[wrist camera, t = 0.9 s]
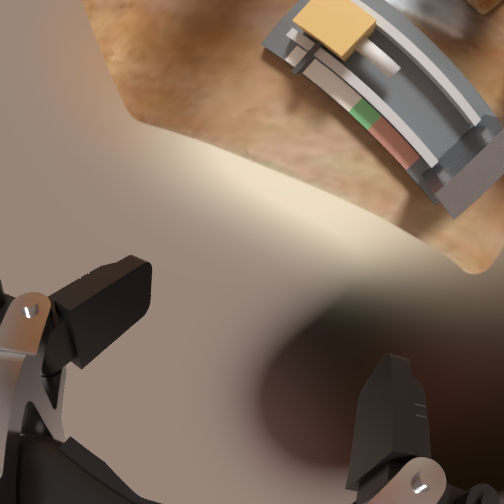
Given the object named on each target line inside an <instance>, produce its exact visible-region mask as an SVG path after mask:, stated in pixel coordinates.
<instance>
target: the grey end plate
mask: <svg viewBox="0 0 504 504" xmlns="http://www.w3.org/2000/svg"><path fill="white" fill-rule="evenodd" d="M480 119H481V121H480V122H479V123H478V124H477V125H476V126H472V127H471V128H470V129H469V130H468V131H467V132H466V133H465V134H464V135H463V136H462V137H461V138H460V139H459V140H458V141H457V142H456V143H455V144H454V145H453V146H452V147H451V148H450V149H449V150H448V151H447V152H446V153H444V154H443V155H442V156H441V157H440V158H439V159H438V161H439V162H437V163H436V164H435V165H434V166H433V167H432V168H431V167H430V168H428V169H427V170H426V171H425V172H424V173H423V174H422V176H423V178H424V179H425V181H426V182H427V184H428V185H429V187H430V188H431V190H432V192H433V193H434V195H435V196H436V197H437V199H438V200H439V201H440V202H441V204H442V205H443V206H444V208H445V209H446V210H447V212H448V213H449V214H450V216H451V217H452V218H453V220H454V219H455V218H456V217H457V216H459V215H460V214H461V213H462V212H463V211H464V210H466V209H467V208H468V207H469V206H470V205H471V204H472V203H473V202H475V201H476V200H477V199H478V198H479V197H480V196H481V195H482V194H483V193H484V192H486V191H487V190H488V189H489V188H490V187H491V186H492V185H493V184H494V183H495V182H496V181H497V180H498V179H499V178H500V177H501V176H502V175H503V174H504V119H500V118H497V117H493V116H490V115H486V114H484V115H483V116H482V117H481V118H480Z"/></svg>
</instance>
